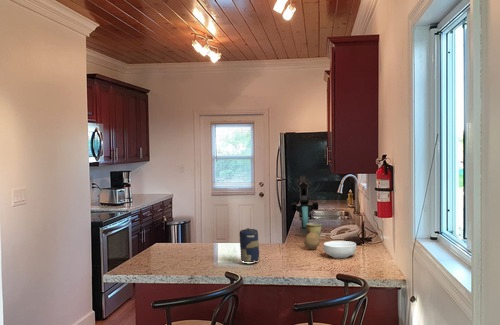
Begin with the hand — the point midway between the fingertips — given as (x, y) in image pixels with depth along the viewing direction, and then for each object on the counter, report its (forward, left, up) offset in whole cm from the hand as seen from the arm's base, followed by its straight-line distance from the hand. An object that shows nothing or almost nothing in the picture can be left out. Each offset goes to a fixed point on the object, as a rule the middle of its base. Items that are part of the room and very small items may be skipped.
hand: (305, 216), depth 294 cm
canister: (+82, +3, -13) cm, 83 cm away
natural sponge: (+44, +22, -13) cm, 51 cm away
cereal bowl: (+56, +42, -13) cm, 71 cm away
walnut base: (-1, -1, -13) cm, 13 cm away
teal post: (-1, -1, -8) cm, 8 cm away
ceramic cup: (+13, +11, -13) cm, 22 cm away
